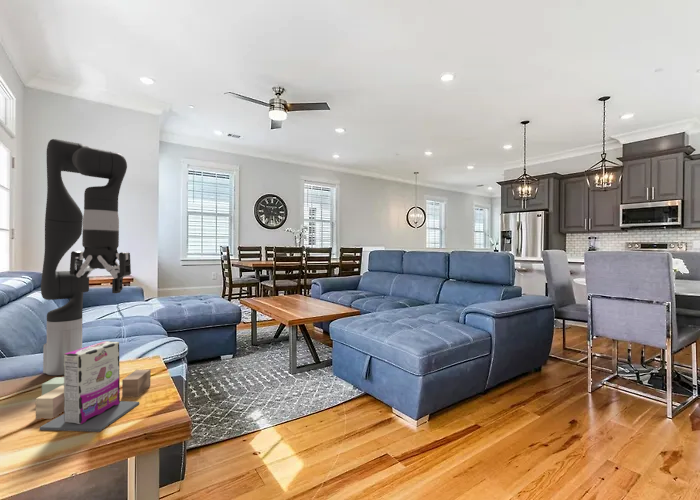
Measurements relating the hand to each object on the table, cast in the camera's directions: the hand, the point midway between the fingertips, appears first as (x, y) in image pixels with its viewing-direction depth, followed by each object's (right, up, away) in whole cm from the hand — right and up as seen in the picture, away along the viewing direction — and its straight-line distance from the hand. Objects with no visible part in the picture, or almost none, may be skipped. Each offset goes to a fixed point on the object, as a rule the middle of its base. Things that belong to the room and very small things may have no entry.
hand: (100, 292), depth 88 cm
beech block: (-11, -30, -1) cm, 32 cm away
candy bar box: (0, -30, -3) cm, 30 cm away
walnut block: (+2, -30, +12) cm, 33 cm away
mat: (0, -30, -3) cm, 30 cm away
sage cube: (-16, -30, +7) cm, 35 cm away
